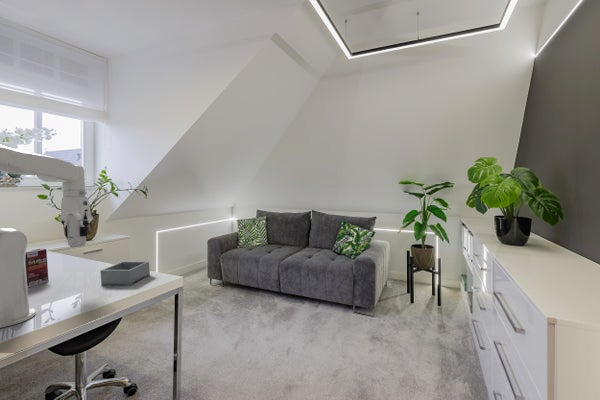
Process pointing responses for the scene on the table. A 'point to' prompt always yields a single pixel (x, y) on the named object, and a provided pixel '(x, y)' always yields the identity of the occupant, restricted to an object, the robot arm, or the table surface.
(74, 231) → the energy drink can
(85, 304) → the table surface
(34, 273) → the supplement box
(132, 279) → the desk bin
